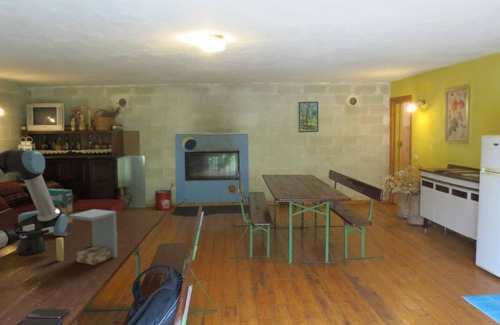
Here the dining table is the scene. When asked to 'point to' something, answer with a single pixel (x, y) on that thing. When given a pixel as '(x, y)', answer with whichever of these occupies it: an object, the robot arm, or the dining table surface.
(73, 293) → the dining table surface
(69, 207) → the cake mix box
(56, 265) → the dining table surface
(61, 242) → the peg
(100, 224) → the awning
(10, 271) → the dining table surface
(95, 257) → the socket block
